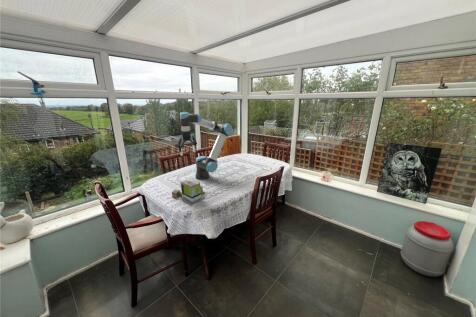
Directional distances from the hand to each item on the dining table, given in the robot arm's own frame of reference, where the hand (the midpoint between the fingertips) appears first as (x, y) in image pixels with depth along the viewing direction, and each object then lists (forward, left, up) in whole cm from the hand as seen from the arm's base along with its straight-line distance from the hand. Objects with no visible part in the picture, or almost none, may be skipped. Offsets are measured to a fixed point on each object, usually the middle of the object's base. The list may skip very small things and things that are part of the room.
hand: (188, 153), depth 169 cm
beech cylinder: (0, +14, -35) cm, 37 cm away
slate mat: (+11, +18, -35) cm, 41 cm away
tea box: (+11, +16, -34) cm, 40 cm away
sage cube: (+13, +6, -35) cm, 38 cm away
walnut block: (+18, +3, -35) cm, 39 cm away
